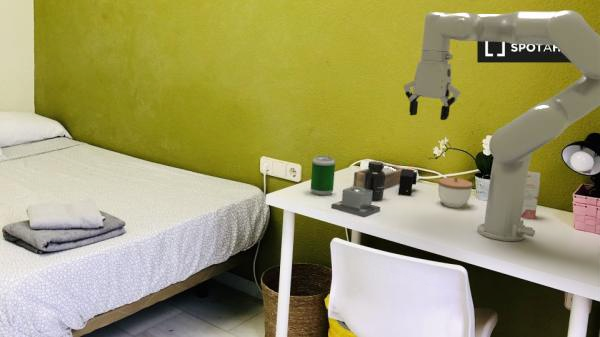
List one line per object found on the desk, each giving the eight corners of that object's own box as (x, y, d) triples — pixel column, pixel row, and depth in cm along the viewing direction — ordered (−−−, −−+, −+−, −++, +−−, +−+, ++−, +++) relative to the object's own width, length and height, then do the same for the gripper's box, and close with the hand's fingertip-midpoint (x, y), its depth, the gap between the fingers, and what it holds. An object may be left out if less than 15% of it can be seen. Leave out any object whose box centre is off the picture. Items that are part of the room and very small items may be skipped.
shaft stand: (379, 210, 185) (381, 191, 184) (364, 217, 178) (366, 197, 177) (347, 202, 192) (348, 183, 191) (331, 207, 185) (332, 188, 184)
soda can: (333, 196, 198) (335, 161, 195) (310, 195, 198) (312, 159, 195) (332, 190, 205) (335, 156, 202) (310, 189, 205) (312, 154, 202)
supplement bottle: (382, 202, 195) (385, 166, 192) (361, 199, 196) (364, 164, 193) (383, 196, 201) (387, 161, 199) (363, 194, 203) (366, 159, 200)
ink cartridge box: (535, 215, 190) (542, 170, 187) (534, 219, 186) (541, 173, 182) (506, 211, 193) (513, 166, 190) (505, 215, 189) (512, 169, 185)
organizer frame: (404, 181, 222) (406, 168, 221) (376, 191, 207) (377, 177, 206) (382, 176, 228) (383, 163, 227) (353, 186, 212) (354, 172, 211)
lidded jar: (452, 198, 204) (455, 171, 202) (476, 207, 195) (480, 179, 193) (429, 202, 198) (432, 174, 196) (453, 211, 189) (457, 182, 187)
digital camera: (414, 197, 203) (416, 177, 202) (398, 195, 204) (400, 175, 203) (415, 189, 213) (417, 170, 212) (399, 187, 214) (401, 168, 213)
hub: (371, 206, 186) (372, 190, 184) (359, 210, 180) (361, 194, 179) (353, 201, 189) (354, 186, 188) (341, 205, 184) (342, 189, 183)
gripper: (469, 59, 168) (461, 120, 172) (413, 55, 178) (407, 112, 182) (458, 60, 162) (450, 122, 166) (401, 55, 173) (395, 114, 177)
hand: (428, 117), depth 174 cm, fingers open, 9 cm apart
